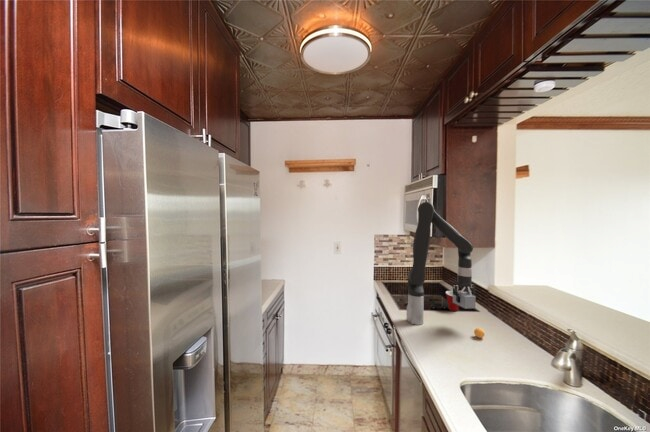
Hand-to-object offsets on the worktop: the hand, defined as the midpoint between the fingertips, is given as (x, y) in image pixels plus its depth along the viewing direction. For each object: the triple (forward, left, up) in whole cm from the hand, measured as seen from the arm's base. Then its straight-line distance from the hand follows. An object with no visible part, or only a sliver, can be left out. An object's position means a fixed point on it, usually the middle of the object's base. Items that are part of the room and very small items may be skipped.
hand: (463, 302), depth 158 cm
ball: (0, -12, -13) cm, 18 cm away
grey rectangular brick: (0, 0, -2) cm, 2 cm away
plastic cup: (+14, +27, -16) cm, 34 cm away
